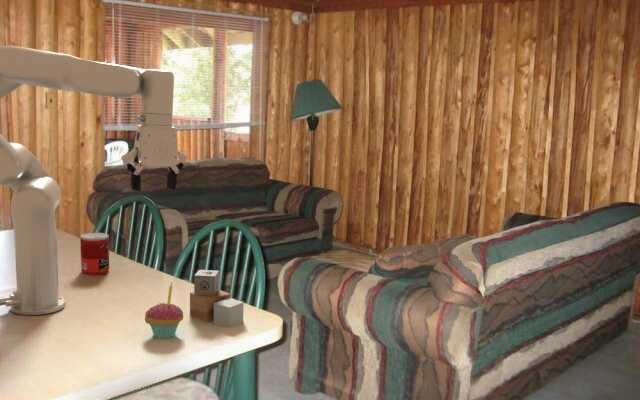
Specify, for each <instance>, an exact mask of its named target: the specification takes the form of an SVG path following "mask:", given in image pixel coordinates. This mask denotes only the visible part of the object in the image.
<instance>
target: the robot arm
mask: <svg viewBox="0 0 640 400" xmlns="http://www.w3.org/2000/svg"><path fill="white" fill-rule="evenodd" d="M23 85H27V86H33V87H40V88H47V89H52V90H58V91H64V92H65V91H66V92H75V93H76V92H77V93H82V94H83V93H84V94H90V95H91V94H92V95H97V96H103V97H109V98H118V99H129V98H132V97H133V98H134V97H141V100H140V101H141V103H140V114H139V115H136V117H135V119H136V120H135V121H137V122H139V123H140V124H139V125H138V126H137V130H136V132H135V139H134V144H133V149H132V150H131V151H129V152H127V153H126V154H125V153H124V154H123V155H121V160H122V163H123V165H124V168H125V169H126V170H127V172H129V174H131V175H130V187H131V189H132V190H133V191H135V192H140V191H141V187H142V186H141V184H142V177H141V174H140V173H141V172H142V171H143V169H144V168H147V169H148V168H149V169H150V168H151V169H153V168H154V169H155V168H167V169H168V171H167V176H166V177H167V178H166V188H168V189H169V190H170V189H171V190H176V186H177V184H178V183H177V181H178V174H179V173H180V171H181V169H182V168H183V167H184V164H185V163H186V161H187V159H188V156H187V155H185V154H184V153H182V152H181V151H179V149H178V146H179V145H178V137H177V131H176V130H177V129H176V127H175V126H173V115H174V114H173V113H174V112H173V110H174V93H175V92H174V90H175V89H174V88H175V75H174V73H173V72H172V71H170V70H168V69H157V68H148V69H147V68H146V69H144V68H137V67H133V66H129V65H119V64H113V63H106V62H100V61H94V60H89V59H83V58H80V57H76V56H74V55H71V54H68V53H67V54H66V53H61V52H56V51H55V52H54V51H49V50H48V51H47V50H42V49H37V48H30V47H23V46H18V45H4V46H1V47H0V100H2V99H3V98H5V97H6V96H8V95H10V94H11V93H13V92H14V91H15V90H17V89H18V88H20V87H21V86H23ZM132 158H133V165H132V162H131V159H132ZM0 186H9V187H10V188H11V189H12V191H14V193H13V194H12V197H11V200H10V201H11V202H10V213H11V219H12V225H13V235H14V240H13V241H14V250H15V251H14V253H15V272H16V273H15V275H16V289H15V290H12V293H11V294H10V295H9V296H1V297H0V306H5V307H6V308H7V307H8V308H9V307H10V310H11V312H13V313H14V314H17V315H21V316H39V315H45V314H46V315H47V314H52V313H55V312H59V311H60V310H62V309H64V308H65V307H66V300H65V298H63V297H62V296H59V272H58V271H59V268H58V265H59V264H58V241H57V238H58V237H57V224H56V218H55V211H56V210H55V209H56V208H57V207H58V206H59V205H60V202H61V200H62V190H61V188H60V185H59V184H58V182H57V181H56V179H55V178H54V177H53V176H52V174H51V173H50V172H49V171H48V170H47V169H46V168H45V167H44V166H43V164H42V163H41V162H40V161H39V159H37V157H36V156H35V155H34V154H33V153H32V152H31V150H29V149H28V148H27V147H25V146H24V145H22V144H21V143H17V142H11V141H10V142H9V141H7V140H6V138H4V136H3V135H2V134H1V133H0Z"/></svg>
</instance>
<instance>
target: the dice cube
mask: <svg viewBox="0 0 640 400" xmlns="http://www.w3.org/2000/svg"><path fill="white" fill-rule="evenodd" d="M193 278H194V281H193V282H194V283H193V286H194V287H193V289H194V291H193V292H194V295H200V296H215V295H216V294H217V292H218V291H219V290H220V270H212V269H211V270H209V269H198V270H197V271H196V273H195V274H194V276H193Z"/></svg>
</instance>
